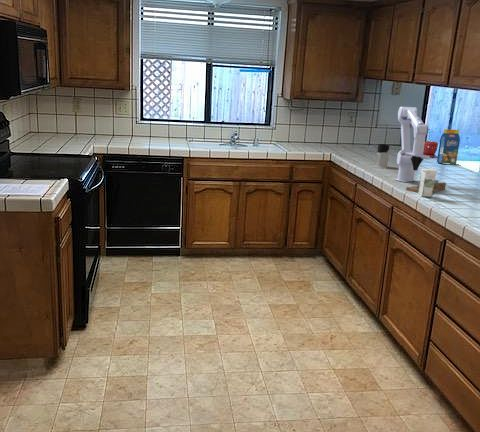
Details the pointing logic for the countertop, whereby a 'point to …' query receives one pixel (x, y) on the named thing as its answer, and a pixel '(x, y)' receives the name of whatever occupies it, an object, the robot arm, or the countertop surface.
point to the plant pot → (430, 148)
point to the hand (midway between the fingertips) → (415, 170)
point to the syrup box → (427, 182)
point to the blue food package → (448, 147)
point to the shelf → (436, 188)
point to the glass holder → (381, 155)
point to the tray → (434, 183)
